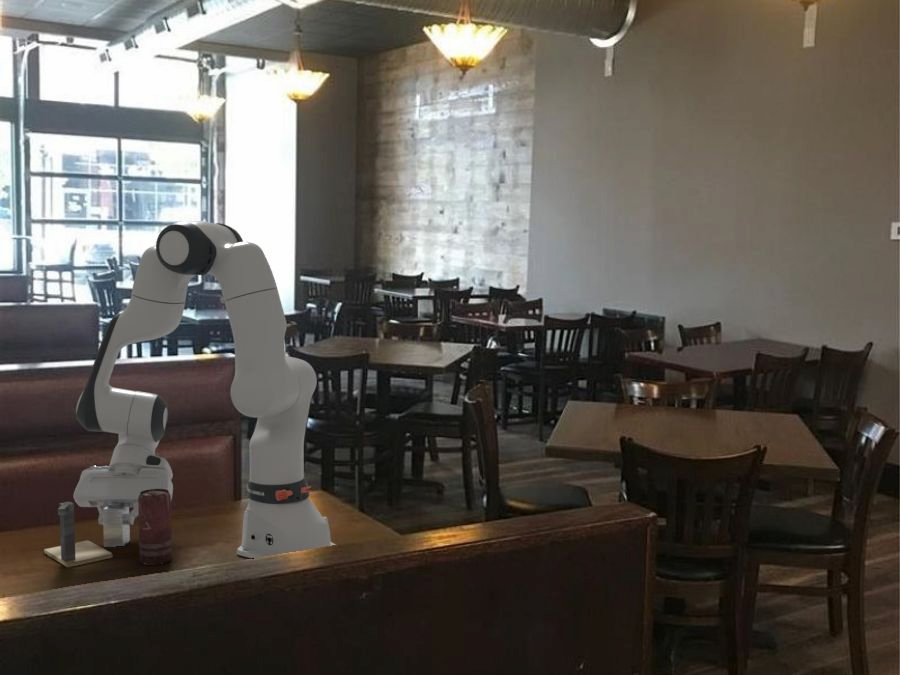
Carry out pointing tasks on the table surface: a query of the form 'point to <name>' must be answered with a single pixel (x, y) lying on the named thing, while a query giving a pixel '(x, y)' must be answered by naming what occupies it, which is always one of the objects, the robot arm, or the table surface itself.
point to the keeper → (69, 549)
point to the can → (155, 526)
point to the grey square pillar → (115, 524)
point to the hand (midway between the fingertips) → (115, 523)
